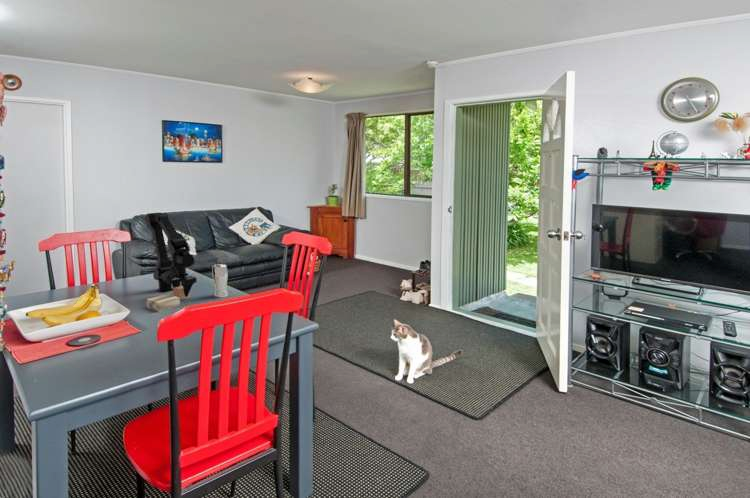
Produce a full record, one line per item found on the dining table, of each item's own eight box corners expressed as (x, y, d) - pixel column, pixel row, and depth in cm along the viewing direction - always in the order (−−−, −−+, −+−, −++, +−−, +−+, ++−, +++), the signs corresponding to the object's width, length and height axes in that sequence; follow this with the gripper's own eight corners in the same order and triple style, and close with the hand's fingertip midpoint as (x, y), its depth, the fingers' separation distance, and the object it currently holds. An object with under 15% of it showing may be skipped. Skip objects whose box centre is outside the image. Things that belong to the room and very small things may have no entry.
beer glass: (224, 298, 228) (222, 267, 225) (211, 297, 229) (208, 266, 226) (231, 294, 234) (229, 264, 231) (218, 293, 236) (216, 263, 233)
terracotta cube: (174, 297, 229) (173, 287, 228) (183, 295, 233) (182, 285, 232) (179, 299, 226) (179, 289, 225) (189, 297, 230) (188, 287, 229)
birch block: (147, 307, 214) (146, 298, 213) (168, 302, 222) (167, 293, 221) (159, 311, 208) (158, 303, 207) (180, 306, 216) (179, 297, 215)
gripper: (152, 263, 225) (155, 295, 228) (173, 269, 214) (176, 302, 217) (174, 259, 234) (176, 290, 237) (196, 264, 223) (198, 297, 226)
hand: (181, 295), depth 229 cm, fingers open, 8 cm apart
